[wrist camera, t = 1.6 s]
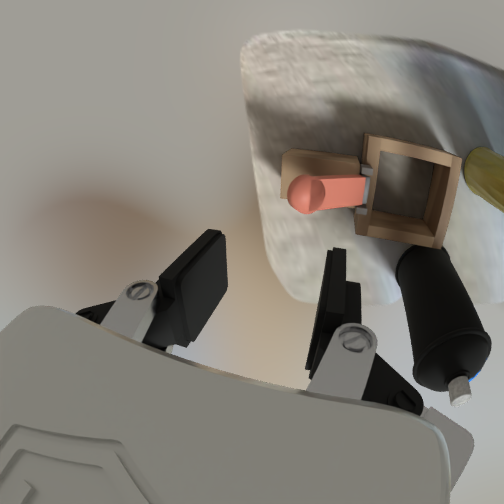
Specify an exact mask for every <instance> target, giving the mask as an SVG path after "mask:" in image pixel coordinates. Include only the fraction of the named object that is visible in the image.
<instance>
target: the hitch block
mask: <svg viewBox="0 0 504 504" xmlns="http://www.w3.org/2000/svg"><path fill="white" fill-rule="evenodd" d="M380 151H385V152H390V153H395V154H400V155H405V156H409V157H413V158H418V159H422V160H426V161H430V162H434V168H433V174H432V180H431V186H430V191H429V196H428V201H427V205H426V210H425V214H424V218H423V220H422V219H417V218H412V217H407V216H402V215H397V214H392V213H386V212H381V211H375V210H372V206H373V200H374V194H375V188H376V181H377V173H378V166H379V157H380ZM461 163H462V158H460V157H458V156H456V155H453V154H451V153H449V152H446V151H444V150H440V149H437V148H433V147H429V146H425V145H421V144H417V143H413V142H409V141H404V140H400V139H395V138H390V137H385V136H380V135H374V134H368V133H364V139H363V150H362V160H361V169H360V163H359V161H358V158H357V156H352V155H345V154H338V153H330V152H322V151H313V150H303V149H292V148H291V149H290V150H288V151H287V152H286V153H284V154H283V155H282V170H281V194H280V198H282V199H287V191H288V187H289V185H290V183H291V182H292V181H293V180H294V179H295V178H296V177H298V176H300V175H304V174H307V175H310V176H329V175H359V171H360V175H366V176H369V177H370V184H369V191H368V198H367V203H366V204H363V203H362V205H356V206H347V208H355V213H354V222H355V232H356V234H357V235H363V236H369V237H375V238H381V239H387V240H393V241H398V242H404V243H409V244H415V245H420V246H425V247H431V248H436V249H441V247H442V244H443V241H444V237H445V234H446V231H447V227H448V224H449V220H450V216H451V212H452V208H453V204H454V200H455V195H456V191H457V186H458V181H459V175H460V170H461Z"/></svg>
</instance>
